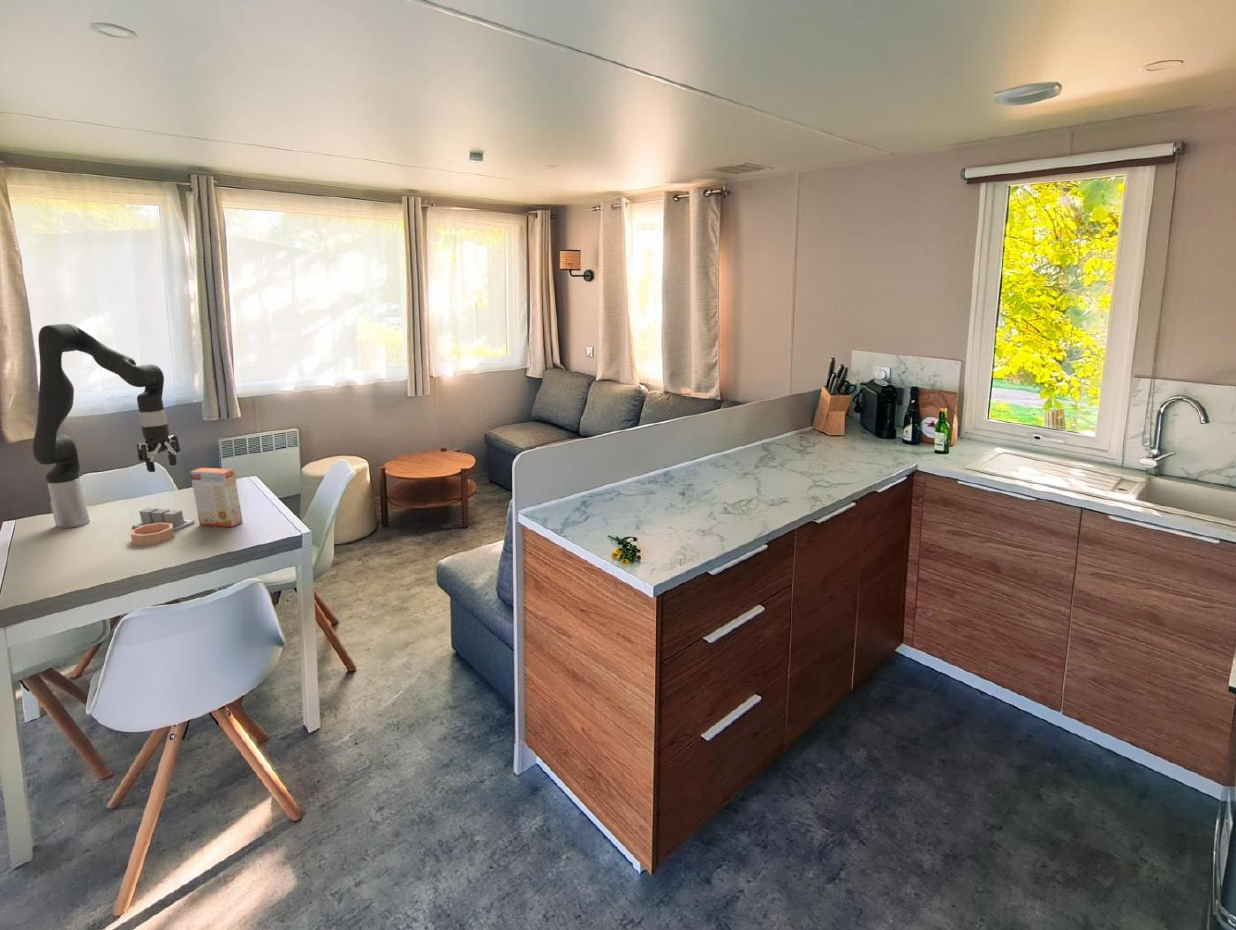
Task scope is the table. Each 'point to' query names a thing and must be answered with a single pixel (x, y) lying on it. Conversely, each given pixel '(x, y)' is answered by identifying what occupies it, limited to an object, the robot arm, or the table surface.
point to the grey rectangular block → (174, 518)
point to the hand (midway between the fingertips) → (162, 468)
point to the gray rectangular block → (159, 515)
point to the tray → (186, 523)
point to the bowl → (152, 533)
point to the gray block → (147, 516)
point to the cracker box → (216, 497)
